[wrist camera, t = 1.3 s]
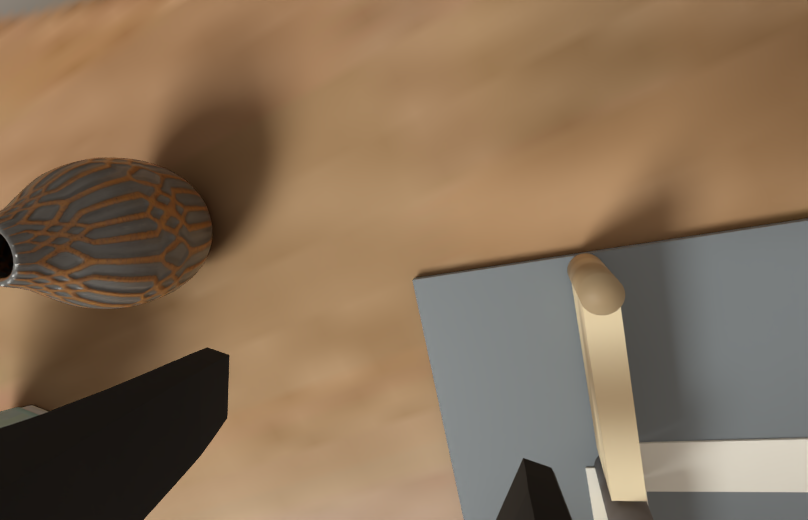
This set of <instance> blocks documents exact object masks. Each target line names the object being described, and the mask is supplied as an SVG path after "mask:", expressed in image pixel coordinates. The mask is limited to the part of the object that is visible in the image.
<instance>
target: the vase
mask: <svg viewBox="0 0 808 520" xmlns="http://www.w3.org/2000/svg"><path fill="white" fill-rule="evenodd" d="M211 243H212V223H211V218H210V214H209V212H208V209H207V207H206V205H205V203H204V201H203V199H202V198H201V196H200V195H199V194H198V192H197V191H196V190H195V189H194V188H193V187H192V186H191V185H190V184H189V183H188V182H187V181H186V180H184V179H183V178H182V177H180V176H178V175H177V174H175V173H173V172H172V171H170V170H168V169H165V168H163V167H160V166H158V165H155V164H152V163H148V162H144V161H140V160H134V159H126V158H93V159H86V160H81V161H77V162H73V163H69V164H66V165H63V166H60V167H57V168H55V169H52V170H50V171H48V172H46V173H44V174H42V175H41V176H39V177H38V178H36V179H35V180H33V181H32V182H31V183H30V184H29V185H27V186H26V187H25V188H24V189H23V190H22V191H21V192H20V193H19V194H18V195H17V196H16V197H15V198H14V199H13V200H12V201H11V202H10V203H9V204H8V205H7V206H6V207H5V208H4V209H3V210H1V211H0V286H2V287H11V288H20V289H26V290H30V291H33V292H36V293H38V294H41V295H43V296H46V297H49V298H51V299H54V300H57V301H60V302H63V303H66V304H69V305H73V306H78V307H83V308H92V309H115V308H125V307H131V306H136V305H141V304H144V303H147V302H150V301H153V300H156V299H158V298H161V297H163V296H165V295H167V294H169V293H171V292H173V291H175V290H176V289H178V288H179V287H181V286H182V285H184V284H185V283H186V282H187V281H189V280H190V279H191V278H192V277H193V276H194V275H195V274H196V273H197V272H198V270H199V269H200V268H201V267H202V265H203V264H204V262H205V260H206V258H207V256H208V253H209V250H210V247H211Z"/></svg>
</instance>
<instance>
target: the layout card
mask: <svg viewBox="0 0 808 520" xmlns="http://www.w3.org/2000/svg"><path fill="white" fill-rule="evenodd" d="M584 253H588V254H592V255H595V256H596V257H598V258H599V259H600V260H601V261H602V263H603V264H604V265H605V266H606V267H607V268H608V269H609V270H610V271H611V273H612V274H613V275H614V276H615V277H616V278H617V279H618V280H619V282H620V283H621V284H622V285H623V287H624V290H625V300H624V303H623V304H622V306H621V312H622V320H623V327H624V334H625V342H626V349H627V357H628V364H629V371H630V379H631V386H632V393H633V401H634V408H635V415H636V423H637V430H638V437H639V445H640V452H641V459H642V467H643V474H644V482H645V489H646V496H647V504H648V506H649V509H650V512H651V514H652V517H653V519H654V520H808V218H806V219H800V220H793V221H787V222H780V223H773V224H767V225H760V226H754V227H747V228H741V229H734V230H727V231H721V232H714V233H708V234H701V235H694V236H688V237H681V238H675V239H668V240H662V241H655V242H648V243H642V244H635V245H629V246H622V247H615V248H609V249H602V250H596V251H589V252H583V253H576V254H569V255H563V256H556V257H550V258H543V259H536V260H530V261H523V262H517V263H510V264H504V265H497V266H490V267H484V268H477V269H471V270H464V271H457V272H451V273H444V274H438V275H431V276H425V277H418V278H414V279H413V285H414V289H415V294H416V299H417V303H418V308H419V313H420V317H421V322H422V327H423V331H424V336H425V341H426V345H427V350H428V355H429V359H430V364H431V369H432V373H433V378H434V383H435V387H436V392H437V397H438V401H439V406H440V411H441V415H442V420H443V425H444V429H445V434H446V439H447V443H448V448H449V453H450V457H451V462H452V467H453V471H454V476H455V481H456V485H457V490H458V495H459V499H460V504H461V509H462V513H463V518H464V520H496V518H497V516H498V514H499V512H500V509H501V507H502V505H503V502H504V500H505V498H506V496H507V493H508V491H509V489H510V487H511V484H512V482H513V480H514V478H515V475H516V473H517V471H518V469H519V466H520V464H521V462H522V459H523V458H525V459H528V460H531V461H534V462H537V463H540V464H542V465H545V466H548V467H551V468H552V470H553V471H554V473H555V476H556V478H557V481H558V484H559V486H560V489H561V492H562V494H563V497H564V499H565V502H566V505H567V507H568V510H569V512H570V515H571V517H572V520H608V518H607V514H606V510H605V506H604V502H603V498H602V494H601V490H600V486H599V482H598V478H597V474H596V471H595V466H594V464H595V460H596V458H597V457H598V456H599V453H598V450H597V445H596V439H595V432H594V426H593V419H592V413H591V406H590V400H589V393H588V387H587V380H586V374H585V367H584V361H583V354H582V348H581V341H580V335H579V328H578V322H577V315H576V309H575V302H574V296H573V289H572V283H571V281H570V278H569V276H568V273H567V267H568V264H569V262H570V261H571V260H572V259H573V258H574V257H575V256H577V255H579V254H584Z"/></svg>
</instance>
